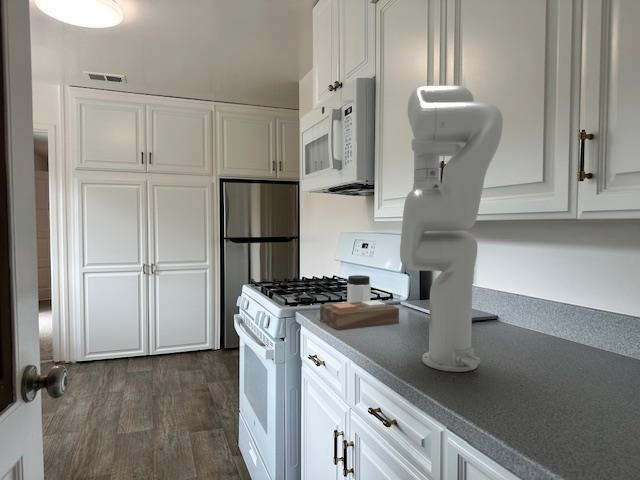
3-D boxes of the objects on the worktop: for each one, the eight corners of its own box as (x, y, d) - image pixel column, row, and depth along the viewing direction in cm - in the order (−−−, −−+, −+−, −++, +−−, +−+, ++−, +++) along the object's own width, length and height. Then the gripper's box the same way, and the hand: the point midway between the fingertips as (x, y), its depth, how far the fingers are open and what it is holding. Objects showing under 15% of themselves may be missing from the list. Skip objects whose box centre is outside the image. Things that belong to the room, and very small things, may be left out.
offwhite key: (385, 314, 142) (385, 303, 142) (370, 316, 140) (370, 305, 139) (376, 310, 147) (376, 300, 147) (361, 312, 145) (361, 301, 145)
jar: (358, 304, 169) (358, 274, 168) (374, 307, 163) (374, 276, 163) (342, 308, 163) (342, 276, 162) (359, 311, 157) (359, 279, 156)
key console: (398, 323, 139) (398, 308, 139) (337, 330, 131) (337, 314, 131) (377, 314, 152) (377, 300, 152) (320, 319, 144) (320, 305, 143)
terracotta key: (356, 317, 138) (356, 306, 138) (339, 319, 135) (339, 307, 135) (348, 313, 143) (348, 302, 143) (331, 315, 141) (331, 304, 141)
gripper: (452, 174, 127) (451, 236, 128) (421, 178, 141) (420, 234, 142) (431, 173, 124) (430, 236, 125) (402, 177, 138) (401, 234, 139)
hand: (425, 235), depth 133 cm, fingers closed
